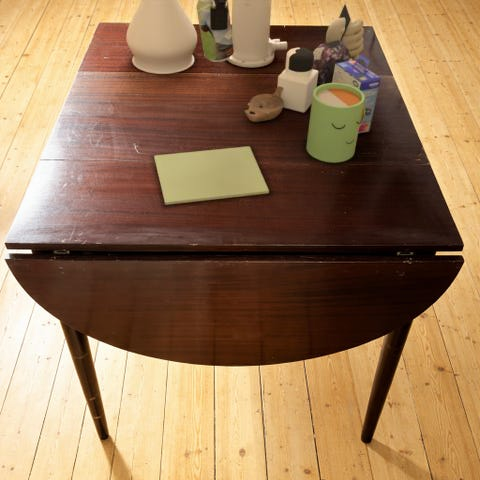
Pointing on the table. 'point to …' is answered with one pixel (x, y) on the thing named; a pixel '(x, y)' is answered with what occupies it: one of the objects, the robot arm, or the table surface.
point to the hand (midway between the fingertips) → (215, 21)
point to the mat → (209, 175)
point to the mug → (335, 121)
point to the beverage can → (214, 35)
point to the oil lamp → (265, 106)
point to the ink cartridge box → (359, 85)
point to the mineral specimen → (329, 59)
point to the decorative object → (347, 33)
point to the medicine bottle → (298, 80)
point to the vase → (161, 37)
